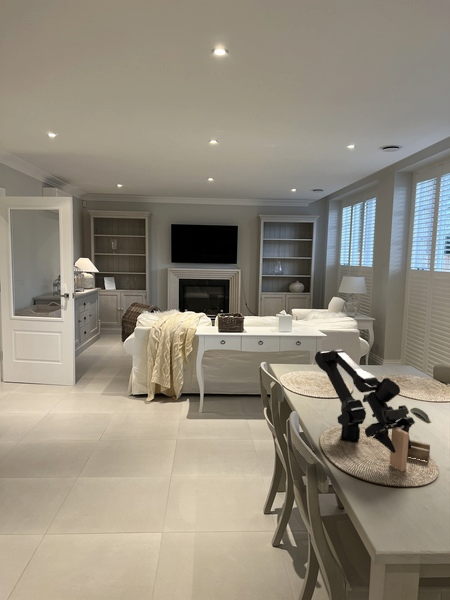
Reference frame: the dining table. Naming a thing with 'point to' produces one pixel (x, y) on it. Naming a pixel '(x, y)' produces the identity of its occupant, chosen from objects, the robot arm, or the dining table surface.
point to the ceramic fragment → (421, 413)
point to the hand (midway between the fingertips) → (402, 450)
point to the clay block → (399, 449)
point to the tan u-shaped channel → (419, 450)
